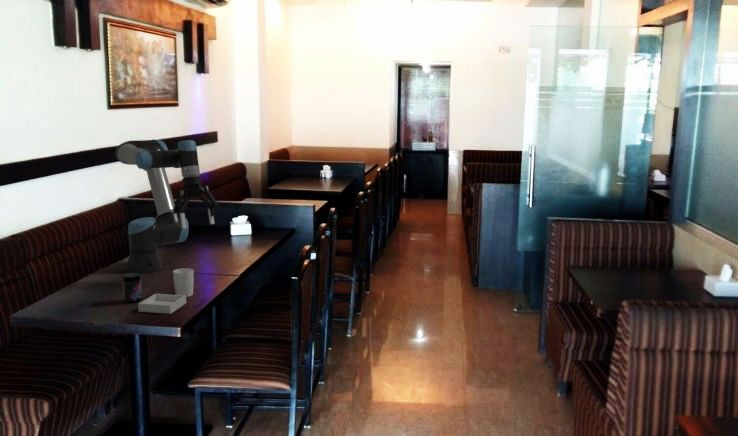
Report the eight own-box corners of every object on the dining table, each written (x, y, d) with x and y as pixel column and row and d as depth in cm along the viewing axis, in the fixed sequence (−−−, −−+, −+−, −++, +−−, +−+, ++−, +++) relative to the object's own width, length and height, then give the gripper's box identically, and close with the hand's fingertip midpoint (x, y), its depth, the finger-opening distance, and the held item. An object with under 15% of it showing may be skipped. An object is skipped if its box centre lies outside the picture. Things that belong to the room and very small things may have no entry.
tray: (138, 311, 228) (138, 303, 227) (155, 301, 240) (155, 293, 239) (170, 313, 226) (170, 305, 225) (186, 302, 238) (185, 295, 237)
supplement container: (126, 304, 235) (124, 278, 234) (121, 300, 241) (120, 274, 239) (144, 301, 239) (143, 275, 237) (139, 297, 245) (138, 271, 243)
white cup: (187, 290, 253) (185, 267, 252) (198, 294, 249) (197, 270, 247) (170, 295, 247) (168, 271, 246) (181, 299, 243) (180, 274, 241)
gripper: (160, 181, 264) (167, 230, 264) (212, 171, 258) (219, 222, 257) (170, 181, 271) (177, 229, 271) (221, 172, 265) (228, 221, 265)
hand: (198, 226), depth 264 cm, fingers open, 13 cm apart
